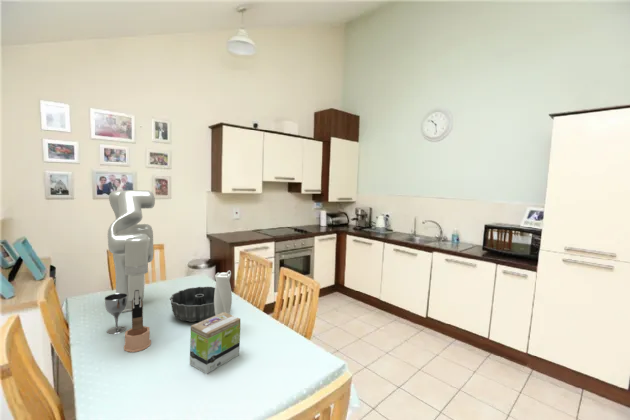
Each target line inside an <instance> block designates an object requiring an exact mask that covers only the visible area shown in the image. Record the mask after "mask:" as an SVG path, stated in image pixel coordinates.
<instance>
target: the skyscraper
mask: <svg viewBox="0 0 630 420" xmlns="http://www.w3.org/2000/svg"><path fill="white" fill-rule="evenodd" d="M214 275H215V276H214V279H215V286H214V288H215V292H214V308H215V315H218V314H220V313H223V312H225V313H227V314H230V315H231V310H232V304H233V303H232V301H233V294H232V288H231V283H230V279H231V277H232V271H231V270H227V272H217V273H216V274H214Z"/></svg>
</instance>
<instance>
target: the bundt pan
mask: <svg viewBox="0 0 630 420" xmlns="http://www.w3.org/2000/svg"><path fill="white" fill-rule="evenodd" d="M214 292H215V286H196V287H188V288H185V289H183V290H179V291H177V292H175V293H173V294H171V297H169V300H170V304H171V311H172V313H173V315H174V317H175V318H177V319H179V320H180V321H182V322H189V323H194V322H196V321H197V322H198V323H199V322H201V321H203V320H206V319H208V318H211V317H213V316H215V308H214Z"/></svg>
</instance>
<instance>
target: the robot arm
mask: <svg viewBox="0 0 630 420" xmlns="http://www.w3.org/2000/svg"><path fill="white" fill-rule="evenodd" d="M108 199H109V200H108V201H109V204H110V207H111V209H112V211H113V213H114V216H115V220H113V221H112V223H110V226H109V227H108V230H107V246H108V250H109V253H111V254H112V257H113V264H114V270H115V294H117V293H125V294H127V304H126V307H125V309H124V310H123V311H122V313H128V312H131V319H132V318H139V317H142V306H141V300H142V299H144V294H145V293H144V292H145V275H146V274H147V273H149V263H151V262H153V260H154V253H155V252H154V231H153V230H154V229H153V227H152V226H151V225H150V224H148V223H147V224H146V223H144V224H143V223H141V224H140V222H141V221H142V220H143V212H142V209H153V208H154V207H155V204H156V197H155V195H154V193H153V192H152V191H150V190H135V189H134V190H133V189H132V190H131V189H128V190H115V191H111V192H110V193H109V196H108ZM139 298H140V299H139ZM134 299H135V300H134ZM132 300H133V308H132ZM139 301H140V302H139ZM134 302H135V303H134Z"/></svg>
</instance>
